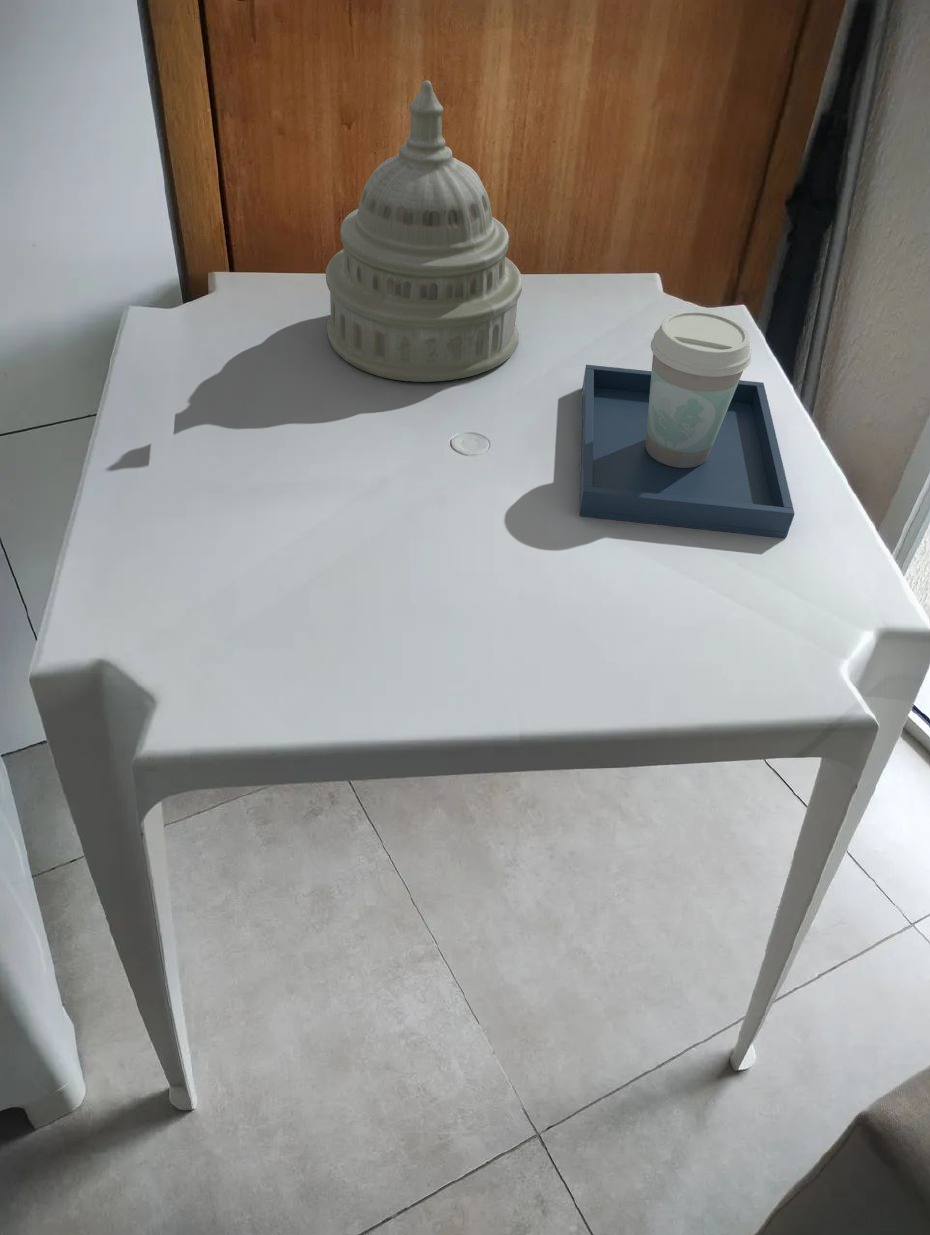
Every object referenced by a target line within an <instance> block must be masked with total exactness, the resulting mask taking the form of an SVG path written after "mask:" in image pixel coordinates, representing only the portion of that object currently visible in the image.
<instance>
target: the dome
mask: <svg viewBox="0 0 930 1235" xmlns="http://www.w3.org/2000/svg"><path fill="white" fill-rule="evenodd" d="M408 110H409V112H410V133H409V135H408V136H407V138H406V142H405V143H403V144H402V145H400V147H399V152H398V154H396V155H394V156H391V157H390V158H387V159H386V160H384V161H383V162H382V163H380V164H379V165H378V166H377V167H376V168H375V169H374V171H373V172H372V173H371V174H370V176H369V177H368V179H367V181H366V183H365V185H364V187H363V189H362V192H361V195H360V199H359V201H358V202H359V203H358V207H357V208H356V209H354V210H353V211H352V212H350V213H349V214H348V215H346V216H345V217H344V219H343V221H341V225H340V232H339V233H340V240H341V244H342V245H343V248H342V249H340V250H339V251H338V252H336V253H335V254H334V255H333V256H332V257H331V259H330V260H329V262H328V263H327V266H326V268H325V282H326V286H327V288H328V290H329V293H330V294H329V295H330V296H329V297H330V299H329V300H330V316H329V318H328V319H327V323H326V333H327V338H328V341H329V344H330V345H331V347H332V349H333V350H334V352H335V353H336V354H337V355H338V356H339V357H341V359H342V360H344V361H345V362H347V363H348V364H350V365H351V366H353V367H355V368H357V369H359V370H361V371H363V372H366V373H368V374H371V375H374V376H377V377H381V378H384V379H389V380H396V381H403V382H415V383H416V382H417V383H433V382H444V381H454V380H459V379H465V378H468V377H469V378H470V377H473V376H478V375H479V374H482V373H484V372H488V371H489V370H492V369H494V368H496V367H498V366H500V365H502V364H504V362H506V361H507V360H508V359H509V358H510V357H511V356H512V355H513V354H514V353H515V352H516V349H517V347H518V344H519V330H518V327H517V324H516V322H517V310H518V300H519V298H520V297H521V294H522V292H523V276H522V274H521V271H520V270H519V269H518V267H517V265H516V264H515V263H514V262H513V261H512V260H511V259H509V258H508V257H506V255H507V253H508V250H509V242H510V241H509V240H510V234H509V232H508V230H507V228H506V227H505V225H504V224H503V223H502V222H500V221H499V220H498V219H496V217H494V216H493V211H492V207H491V202H490V198H489V195H488V192H487V190H486V188H485V186H484V184H483V182H482V180H481V179H480V176H479V175H478V173H477V172H476V171H475V170H474V169H473V167H471V166H470V165H468V164H467V163H465V162H463V161H460V160H459V159H458V158H456V157H453V151H452V149H451V148H450V147H449V146H446V140H445V138H444V137H443V113H444V106H443V105H442V104H441V103H440V101H439V100H438V97H437V95H436V94H435V91H434V88H433V84H432V82H431V81H430V80H424V81H423V82H422V83H421V87H420V90H419V92H418V94H416V97H415V98H414V100H412V101H411V102H410V103H409V105H408Z"/></svg>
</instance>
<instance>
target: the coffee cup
mask: <svg viewBox="0 0 930 1235" xmlns="http://www.w3.org/2000/svg"><path fill="white" fill-rule="evenodd" d="M750 336H751V335H750V333H749V331H748V330H747V328H745V327H744V325H743V324H741V323H739V322H738V321H736V320H735V319H732V318H730V317H728V316H725V315H722V314H719V313H715V312H710V311H704V310H685V311H678V312H674V313H672V314H669V315H668V316H666V317H665V318H664V319H663V320H662V322H661V324H660V325H659V328H658V329H657V330H656V331H655V333H653V338H652V339H651V342H650V350H651V352H652V363H651V371H652V372H651V384H650V396H649V408H648V420H647V433H646V450H647V452H648V454H649V455H650V456H651V457H652V458H654V459H655V460H657V461H658V462H660V463H662V464H665V465H668V466H672V467H678V468H690V467H695V466H698V465H701V464H702V463H704V462H705V461H706V460H707V458H708V456H709V453H710V451H711V449H712V446H713V444H714V441H715V439H716V436H717V434H718V432H719V429H720V427H721V424H722V422H723V419H724V417H725V414H726V412H727V410H728V407H729V405H730V402H731V400H732V397H733V395H734V392H735V390H736V387H737V385H738V383H739V380H741V378H742V375H743V372H744V371H745V370H746V369H747V368H748V367H749V366H750V365H751V362H752V347H751V337H750Z"/></svg>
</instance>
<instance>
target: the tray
mask: <svg viewBox="0 0 930 1235" xmlns="http://www.w3.org/2000/svg"><path fill="white" fill-rule="evenodd" d="M651 372H652V370H643V369H633V368H623V367H614V366H604V365H596V364H595V365H593V364H585V368H584V374H583V380H582V388H581V389H582V390H581V422H580V423H581V424H580V425H581V427H580V428H581V430H580V464H579V465H580V466H579V467H580V468H579V505H578V506H579V508H578V510H579V512H578V516H579V517H585V518H595V519H604V520H614V521H622V522H632V523H641V524H652V525H659V526H660V525H661V526H670V527H679V528H690V529H698V530H707V531H708V530H709V531H716V532H724V533H725V532H726V533H735V534H745V535H752V536H753V535H754V536H763V537H764V536H765V537H773V538H782V539H787V537H788V534H789V531H790V528H791V525H792V523H793V520H794V517H795V509H794V506H793V505H794V504H793V501H792V498H791V493H790V489H789V485H788V480H787V476H786V472H785V467H784V463H783V458H782V454H781V451H780V447H779V442H778V438H777V434H776V430H775V425H774V421H773V417H772V412H771V409H770V405H769V400H768V395H767V392H766V391H767V390H766V387H765V383H764V382H763V381H750V380H741V379H740V380H739V383H738V385H737V387H736V390H735V392H734V395H733V397H732V400H731V402H730V405H729V407H728V410H727V412H726V414H725V417H724V419H723V422H722V424H721V427H720V429H719V432H718V434H717V436H716V439H715V441H714V444H713V446H712V449H711V451H710V453H709V456H708V458H707V460H706V461H705V462H704V463H702V464H701V465H698V466H695V467H690V468H678V467H672V466H668V465H665V464H662V463H660V462H658V461H657V460H655V459H654V458H652V457H651V456H650V455H649V454H648V452H647V450H646V433H647V420H648V408H649V396H650V384H651Z"/></svg>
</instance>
